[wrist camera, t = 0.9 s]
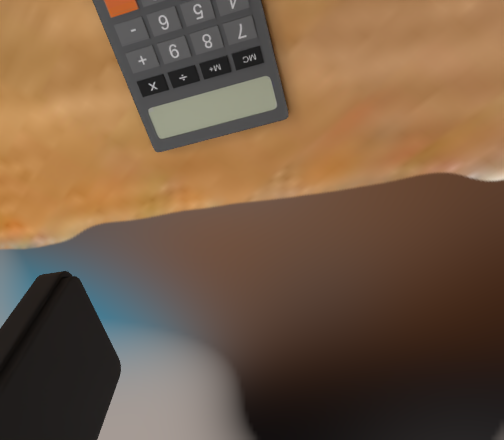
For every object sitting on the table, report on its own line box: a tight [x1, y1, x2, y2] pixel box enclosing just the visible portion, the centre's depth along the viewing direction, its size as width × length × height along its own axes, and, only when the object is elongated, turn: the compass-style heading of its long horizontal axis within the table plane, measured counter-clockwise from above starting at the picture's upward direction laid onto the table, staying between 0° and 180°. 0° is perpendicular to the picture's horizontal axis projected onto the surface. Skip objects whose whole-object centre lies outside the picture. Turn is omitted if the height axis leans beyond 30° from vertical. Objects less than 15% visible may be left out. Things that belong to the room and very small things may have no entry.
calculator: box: [93, 0, 288, 152], centre depth 34 cm, size 12×1×15 cm
